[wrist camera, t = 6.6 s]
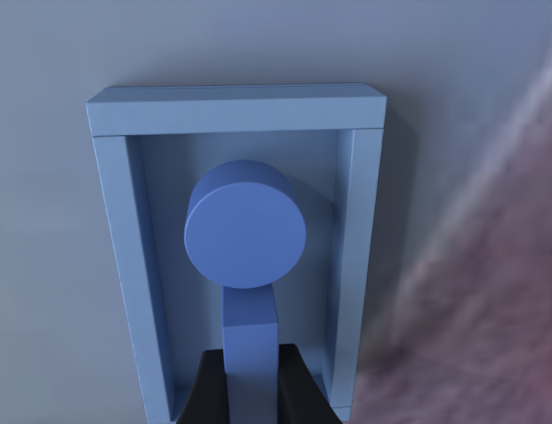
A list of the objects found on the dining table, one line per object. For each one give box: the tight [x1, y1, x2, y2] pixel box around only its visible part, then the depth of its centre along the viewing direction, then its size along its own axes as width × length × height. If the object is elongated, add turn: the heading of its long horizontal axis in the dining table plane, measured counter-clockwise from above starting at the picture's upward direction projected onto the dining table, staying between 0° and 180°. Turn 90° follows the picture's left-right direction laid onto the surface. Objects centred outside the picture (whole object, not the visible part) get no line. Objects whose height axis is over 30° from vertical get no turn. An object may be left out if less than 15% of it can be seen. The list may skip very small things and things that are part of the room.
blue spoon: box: [184, 160, 307, 424], centre depth 12 cm, size 8×3×3 cm, turn 0°
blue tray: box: [85, 83, 387, 424], centre depth 13 cm, size 12×7×2 cm, turn 0°
